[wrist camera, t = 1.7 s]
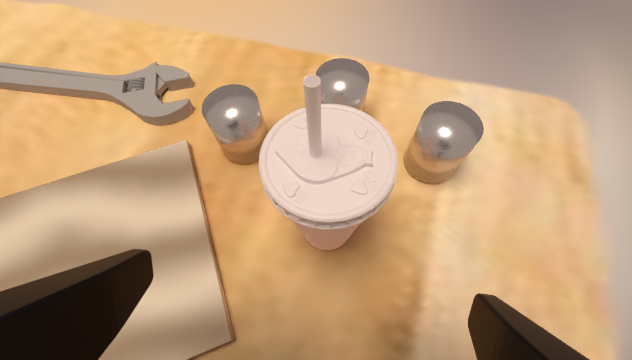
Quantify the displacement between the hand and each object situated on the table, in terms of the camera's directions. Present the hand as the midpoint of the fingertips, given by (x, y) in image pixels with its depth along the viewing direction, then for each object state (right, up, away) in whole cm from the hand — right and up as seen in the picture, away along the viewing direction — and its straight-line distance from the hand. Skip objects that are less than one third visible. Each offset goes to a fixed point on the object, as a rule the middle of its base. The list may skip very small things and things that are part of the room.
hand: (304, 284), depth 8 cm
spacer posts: (+2, +7, +17) cm, 19 cm away
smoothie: (+1, -1, +14) cm, 14 cm away
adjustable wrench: (-23, +12, +22) cm, 34 cm away
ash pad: (-15, -3, +13) cm, 20 cm away
